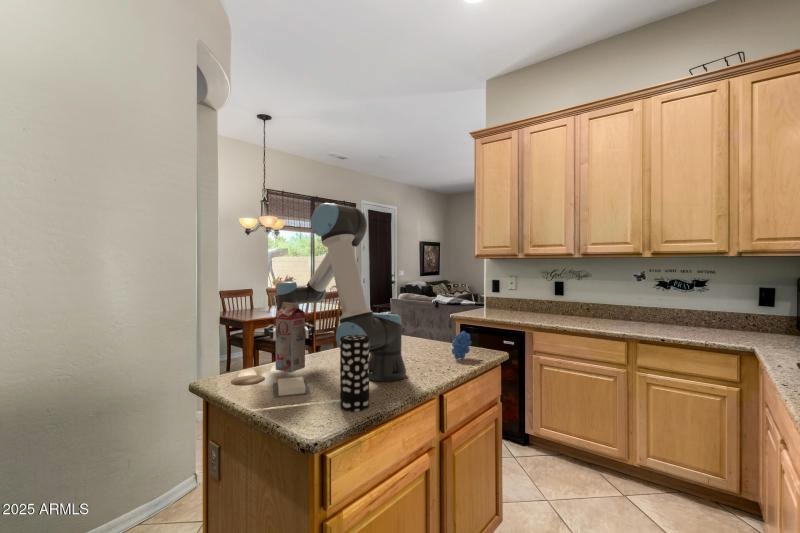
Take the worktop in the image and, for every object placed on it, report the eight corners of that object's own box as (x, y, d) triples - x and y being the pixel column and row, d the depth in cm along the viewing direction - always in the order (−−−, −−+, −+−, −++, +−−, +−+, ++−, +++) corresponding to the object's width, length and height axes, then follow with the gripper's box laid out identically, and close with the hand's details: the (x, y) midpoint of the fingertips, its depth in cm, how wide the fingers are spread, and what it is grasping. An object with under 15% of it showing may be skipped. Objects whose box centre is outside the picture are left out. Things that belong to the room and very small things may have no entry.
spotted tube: (371, 409, 109) (371, 339, 109) (342, 413, 106) (342, 341, 106) (365, 399, 117) (365, 334, 117) (338, 402, 114) (338, 335, 114)
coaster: (270, 378, 139) (270, 375, 139) (254, 387, 128) (254, 385, 128) (242, 376, 140) (242, 374, 140) (224, 386, 130) (224, 383, 130)
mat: (273, 385, 131) (273, 383, 131) (306, 381, 134) (306, 380, 134) (273, 399, 117) (273, 397, 117) (310, 395, 120) (310, 394, 120)
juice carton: (291, 372, 123) (291, 304, 123) (275, 369, 126) (275, 303, 126) (304, 367, 129) (304, 302, 129) (289, 365, 132) (289, 301, 132)
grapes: (463, 354, 174) (463, 328, 174) (474, 357, 169) (474, 330, 169) (445, 358, 167) (445, 331, 167) (456, 361, 162) (456, 333, 162)
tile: (277, 379, 128) (278, 389, 118) (302, 376, 131) (305, 386, 120) (277, 385, 128) (278, 396, 118) (302, 383, 131) (305, 393, 120)
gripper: (317, 332, 148) (325, 344, 127) (256, 336, 141) (254, 349, 120) (317, 313, 148) (325, 321, 127) (256, 315, 141) (254, 325, 120)
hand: (291, 335), depth 123 cm, fingers closed on juice carton, 9 cm apart
